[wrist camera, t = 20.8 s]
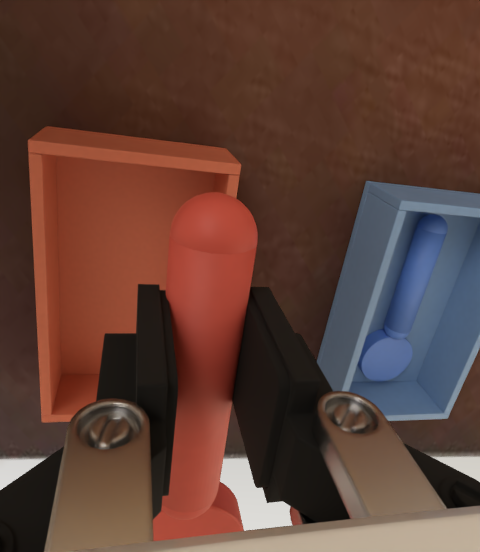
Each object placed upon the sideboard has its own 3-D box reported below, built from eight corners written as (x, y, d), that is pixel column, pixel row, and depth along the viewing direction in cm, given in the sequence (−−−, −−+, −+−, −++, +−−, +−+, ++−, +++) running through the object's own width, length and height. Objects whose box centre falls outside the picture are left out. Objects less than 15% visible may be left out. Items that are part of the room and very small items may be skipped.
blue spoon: (401, 207, 30) (417, 217, 29) (454, 213, 31) (473, 222, 30) (348, 372, 36) (359, 388, 34) (395, 372, 37) (408, 387, 36)
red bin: (195, 374, 34) (203, 417, 30) (54, 375, 31) (41, 422, 27) (226, 147, 27) (241, 164, 23) (46, 125, 24) (27, 139, 20)
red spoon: (116, 175, 10) (111, 199, 8) (298, 189, 11) (328, 214, 9) (111, 564, 16) (107, 627, 14) (229, 550, 17) (240, 607, 15)
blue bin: (415, 381, 39) (447, 418, 35) (310, 383, 37) (331, 423, 33) (490, 194, 32) (541, 214, 28) (365, 180, 29) (401, 200, 25)
